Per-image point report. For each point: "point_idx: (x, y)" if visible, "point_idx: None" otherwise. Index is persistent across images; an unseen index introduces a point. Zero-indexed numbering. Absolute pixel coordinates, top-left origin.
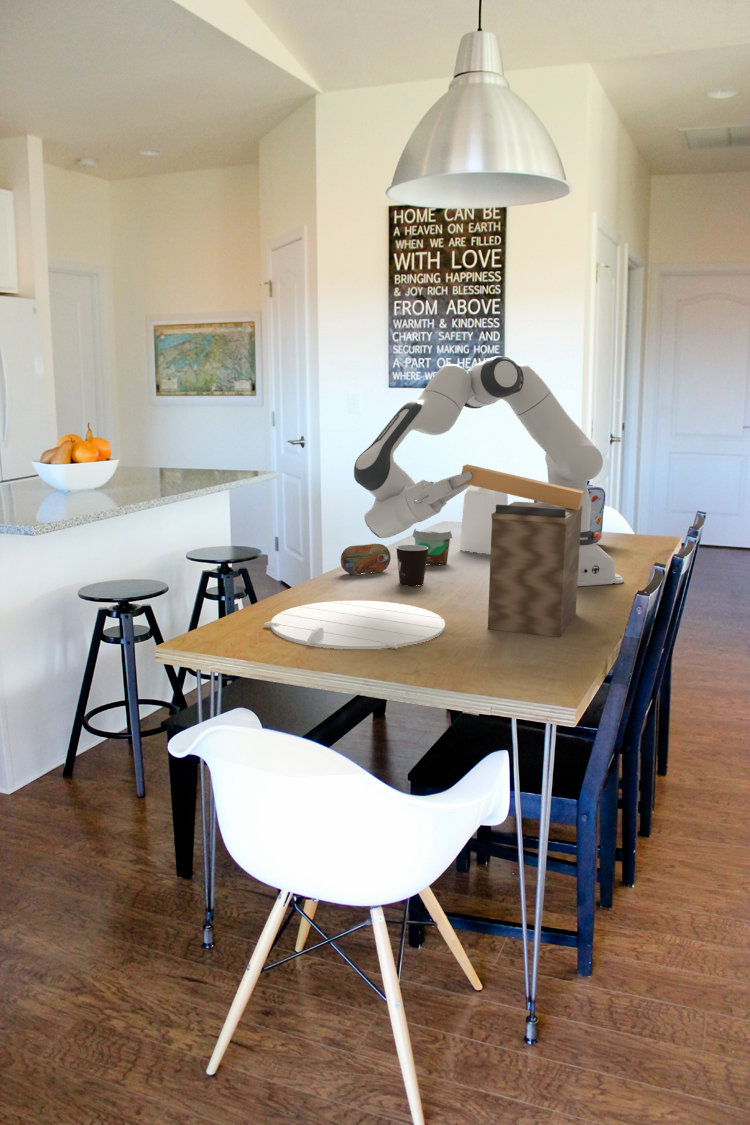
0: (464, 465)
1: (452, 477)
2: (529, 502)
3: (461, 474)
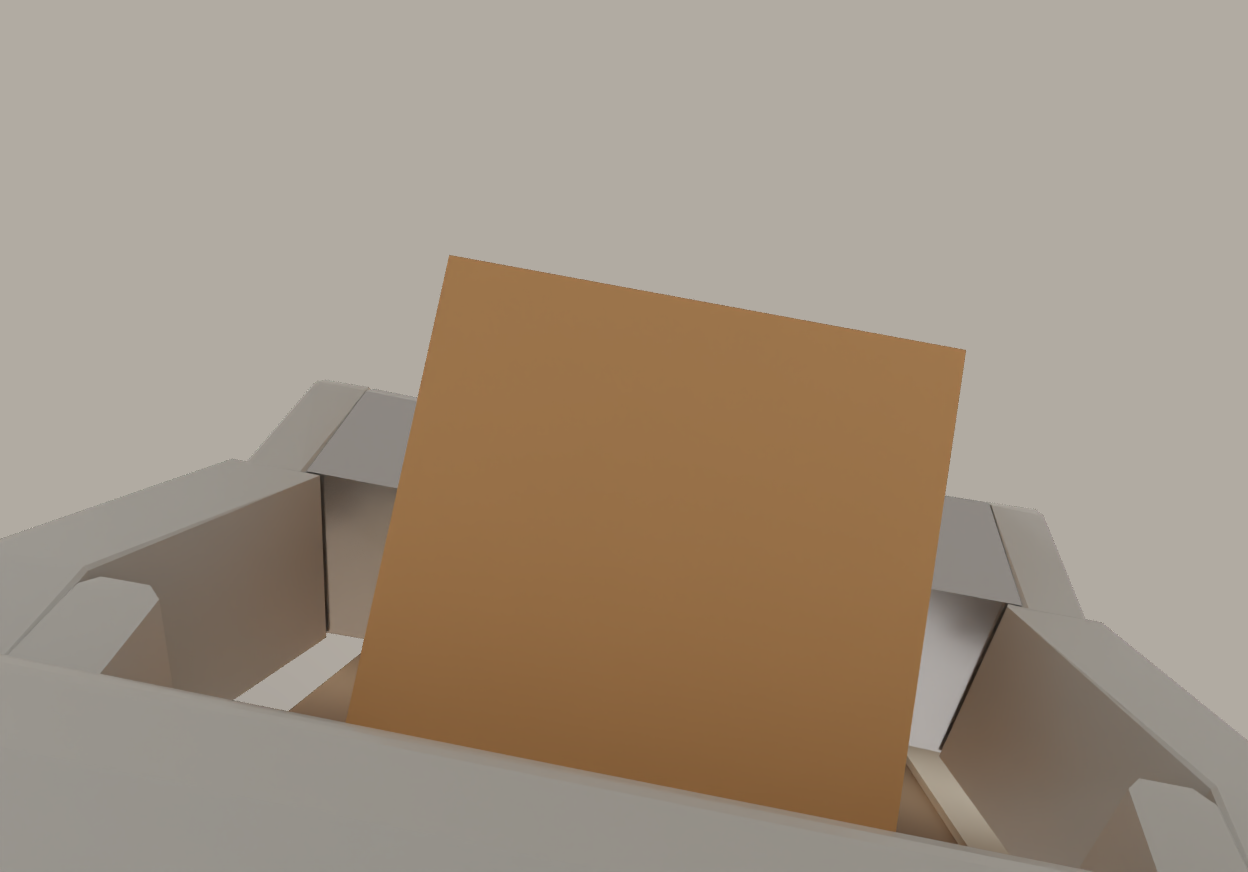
0: (829, 326)
1: (1017, 865)
2: (317, 697)
3: (922, 621)
